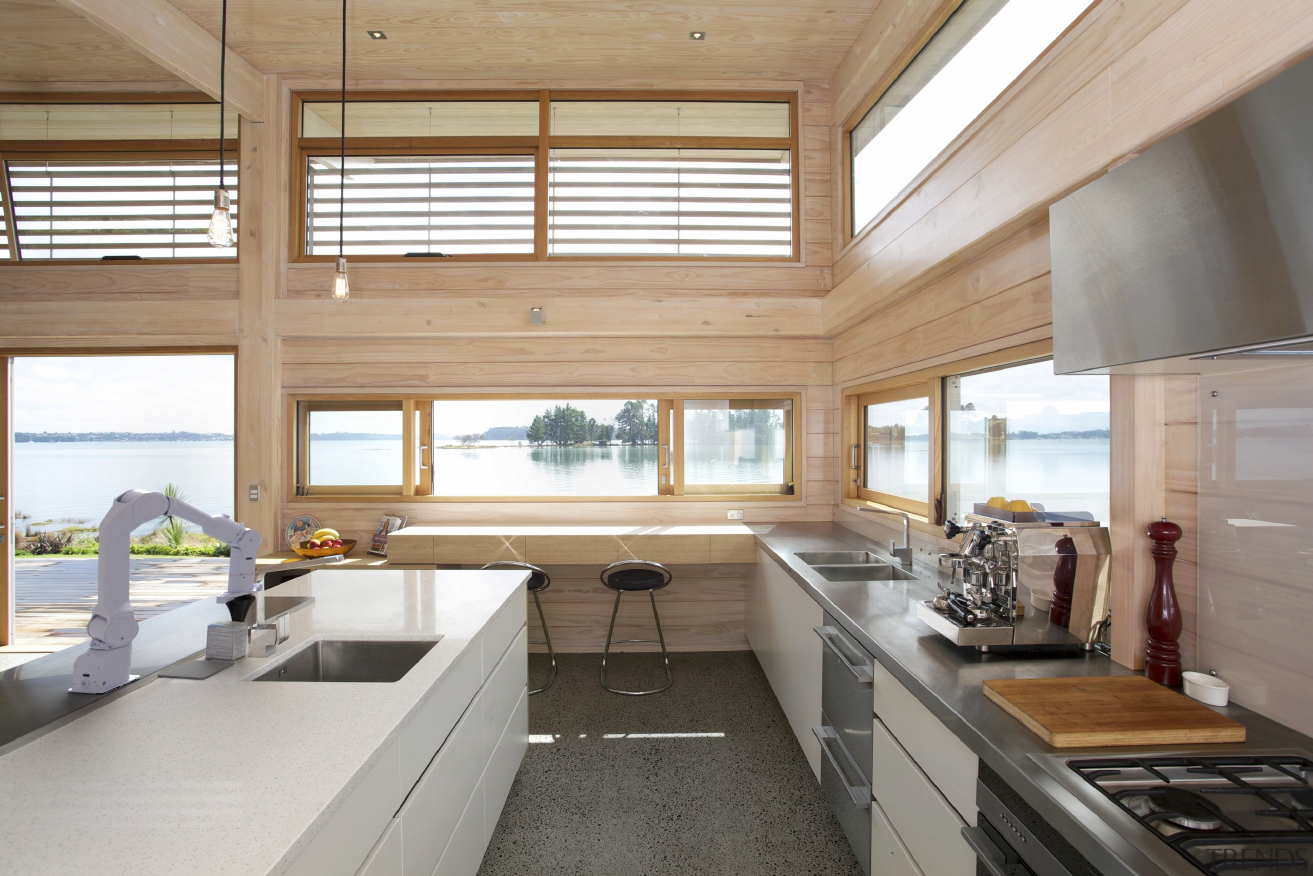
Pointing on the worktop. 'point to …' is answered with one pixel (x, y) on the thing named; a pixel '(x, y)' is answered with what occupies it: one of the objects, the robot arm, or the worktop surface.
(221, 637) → the medicine box
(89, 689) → the robot arm
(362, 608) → the worktop surface
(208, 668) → the grey rubber pad
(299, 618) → the worktop surface
